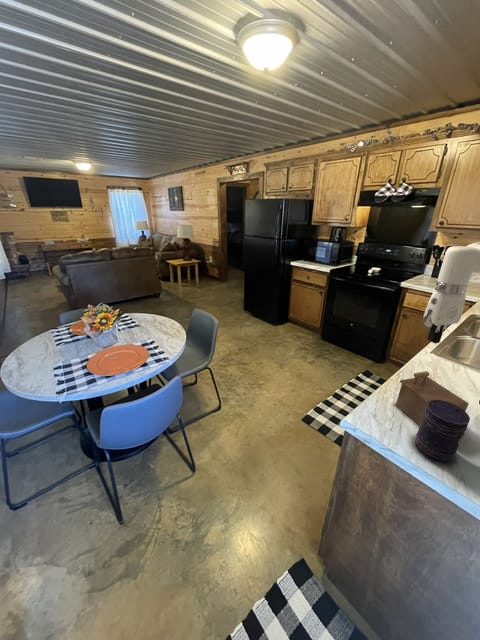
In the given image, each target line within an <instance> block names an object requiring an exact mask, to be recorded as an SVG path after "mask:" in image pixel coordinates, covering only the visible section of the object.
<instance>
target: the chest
mask: <svg viewBox="0 0 480 640" xmlns="http://www.w3.org/2000/svg"><path fill="white" fill-rule="evenodd" d="M427 405H428V403H427V402H426V401H425V400H423V399H422V398H421V397H419V396H418V395H417V394H415V393H414V392H413V391H411V390H410V389H409V388H407V387H406V386H405V385H403V384H402V383H401V386H400V389H399V392H398V396H397V399H396V403H395V407H397V408H398V409H399V410H400V411H401V412H403V413H404V414H405V415H406V416H407V417H409V418H410V419H411V420H412V421H413V422H414V423H416V425H418V427H420V426H421V425H422V422H423V415H424V412H425V410H426V408H427ZM468 406H469V404H468V405H467V406H462V407H460V408H461V409H463V410H464V411H465V412H466V411H467V409H468Z"/></svg>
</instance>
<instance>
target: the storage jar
mask: <svg viewBox="0 0 480 640" xmlns="http://www.w3.org/2000/svg"><path fill="white" fill-rule="evenodd" d="M470 421H471V417H470V415H469V413H467V412H466V411H464V410H463V409H461V408H460V407H458V406H456V405H454V404H452V403H450V402H446V401H442V400H432V401H430V402H429V403H428V405H427V408H426V410H425V412H424V415H423V422H422V425H421V426H419V428H418V430H417V432H416V436H415V439H414V444H413V445H414V447H415V449H416V450H417V452H418V453H419V454H420V455H422V456H423V457H424V458H426V459H427V460H429V461H431V462H433V463H436V464H441V465H447V464H450V463H451V462H452V461H453V459H454V457H455V455H456V454H457V451H458V449H459V444H460V440H461V439H462V438H463V437H464V436H465V433H466V432H467V429H468V426H469V423H470Z"/></svg>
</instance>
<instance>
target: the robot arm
mask: <svg viewBox="0 0 480 640" xmlns="http://www.w3.org/2000/svg"><path fill="white" fill-rule="evenodd" d="M444 253H445V254H444V257H443V260H442V263H441V267H440V270H439V274H438V276H437V277H438V278H437V280H436V284H435V287H434V290H433V292H432V294H431V296H430V298H429V300H428V302H427V305H426V308H425V310H424V314H423V321H424V322H423V326H424V327H427V328H428V329H429V332H428V334H427V338H426V340H427V341H429V342H431V343H433V344H440V342H441V340H442V336H443V334H444V332H445V331H446V330H447V328H448V326H451V325H455V324H458V323H459V322H460V320H461V318H462V315H463V311H464V308H465V303H466V297H467V296H466V295H467V294H466V292H467V288H468V286H469V283H470V281H471V278H472V275H473V273H475V274H476V273H477V274H480V241H476V242H472V243H469V244H468V245H466V246H464V245H454V246H450V247H448V248H447V249H446V251H445V252H444Z"/></svg>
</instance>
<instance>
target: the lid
mask: <svg viewBox="0 0 480 640" xmlns="http://www.w3.org/2000/svg"><path fill="white" fill-rule="evenodd" d="M399 383H400V384H401V385H402V384H403V385H405V386H406V387H407V388H409V389H410V390H411V391H413V392H414V393H415V394H417V395H418V396H419V397H421V398H422V399H423V400H425V401H426V402H427V403H429V402H430V401H432V400H442V401H446V402H450V403H452V404H454V405H456V406H458V407H462V406H467V405H468V406H469V404H470V403H469V402H467V401H466V400H465V399H463V398H462V397H460V396H458V395H457V394H456V393H453V392H452V391H450V390H449V389H448V388H446V387H444V386H443V385H441V384H440V383H438V382H436V381H435V380H434V379H432V378H430V373H429V371H427V370H425V371H419V372H414V373H413V377H412V378H405V379H400V380H399Z"/></svg>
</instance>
